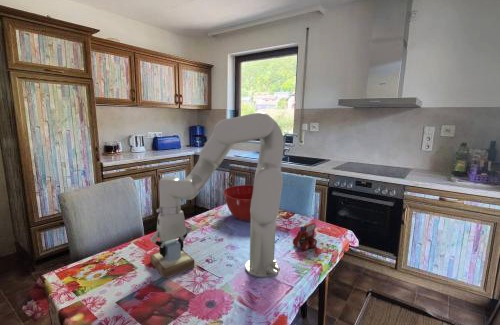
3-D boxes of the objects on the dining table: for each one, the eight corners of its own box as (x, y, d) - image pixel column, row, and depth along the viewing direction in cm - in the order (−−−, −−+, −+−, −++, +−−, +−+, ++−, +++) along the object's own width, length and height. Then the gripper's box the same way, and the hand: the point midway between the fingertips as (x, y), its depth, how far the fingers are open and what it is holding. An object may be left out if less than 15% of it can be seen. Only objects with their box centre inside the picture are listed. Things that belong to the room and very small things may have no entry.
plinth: (194, 266, 103) (194, 259, 102) (164, 278, 95) (164, 270, 94) (178, 252, 113) (178, 245, 112) (150, 261, 105) (150, 254, 105)
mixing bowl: (267, 228, 139) (268, 200, 136) (216, 223, 145) (216, 196, 142) (273, 210, 166) (274, 187, 164) (230, 206, 172) (230, 183, 169)
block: (180, 257, 103) (180, 243, 102) (168, 261, 100) (168, 247, 99) (175, 252, 107) (174, 238, 106) (163, 256, 103) (162, 242, 102)
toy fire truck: (289, 247, 120) (290, 225, 118) (307, 239, 128) (308, 219, 126) (301, 253, 115) (302, 231, 113) (318, 245, 122) (320, 224, 121)
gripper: (151, 217, 92) (153, 264, 95) (195, 207, 103) (196, 249, 106) (143, 211, 97) (146, 255, 100) (186, 202, 108) (187, 242, 111)
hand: (171, 252), depth 103 cm, fingers open, 6 cm apart
